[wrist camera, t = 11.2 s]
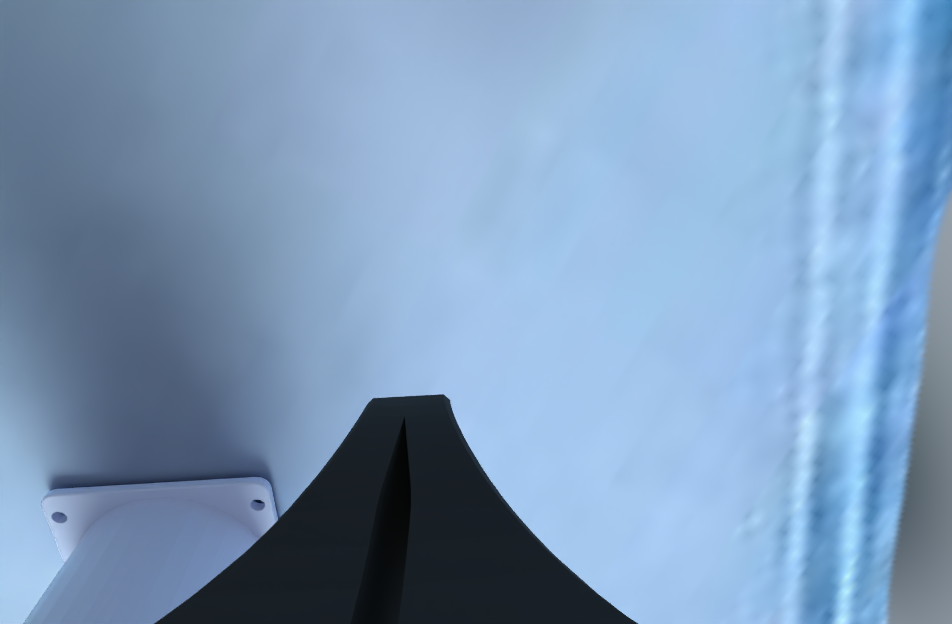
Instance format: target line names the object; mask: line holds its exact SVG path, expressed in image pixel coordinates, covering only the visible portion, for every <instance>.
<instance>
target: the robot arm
mask: <svg viewBox="0 0 952 624" xmlns="http://www.w3.org/2000/svg"><path fill="white" fill-rule="evenodd" d="M256 499H257V500H261V501H263V502H264V503H257V502H255V501H254V500H256ZM41 506H42V509H43V511H44V514H45V516H46V519H47V522H48V524H49V527H50V529H51V532H52V534H53V537H54V539H55V542H56V544H57V547H58V549H59V552H60V554H61V557H62V559H63V562H64V565H63V566H62V568H61V569H60V571H59V572H58V573H57V575H56V576H55V578H54V579H53V581H52V582H51V584H50V585H49V587H48V588H47V590H46V591H45V592H44V594H43V595H42V597H41V598H40V600H39V601H38V603H37V604H36V606H35V607H34V609H33V610H32V611H31V613H30V614H29V616H28V617H27V619H26V620H25V622H24V623H23V624H638V623H636V622H635V621H633V620H632V619H630V618H629V617H627V616H626V615H624V614H623V613H622V612H620V611H619V610H618V609H617V608H615V607H614V606H613V605H611V604H610V603H609V602H608V601H606V600H605V599H604V598H602V597H601V596H600V595H598V594H597V593H596V592H595V591H594V590H593V589H592V588H590V587H589V586H588V585H587V584H586V583H585V582H584V581H583V580H581V579H580V578H579V577H578V576H577V575H576V574H575V573H574V572H572V571H571V570H570V569H569V568H568V567H567V566H566V565H565V564H563V563H562V562H561V561H560V560H559V559H558V558H557V557H556V556H555V555H554V554H553V553H552V552H551V551H550V550H549V549H548V548H547V547H546V546H545V545H544V544H543V543H542V542H541V541H540V540H539V539H538V538H537V537H536V536H535V535H534V534H533V533H532V532H531V531H530V529H529V528H528V527H527V526H526V525H525V524H524V523H523V521H522V520H521V519H520V518H519V517H518V516H517V515H516V513H515V512H514V511H513V510H512V508H511V507H510V506H509V505H508V503H507V502H506V501H505V500H504V498H503V497H502V496H501V494H500V493H499V492H498V490H497V489H496V487H495V486H494V485H493V483H492V482H491V481H490V479H489V478H488V476H487V475H486V473H485V472H484V470H483V469H482V467H481V465H480V464H479V462H478V460H477V459H476V457H475V455H474V454H473V452H472V451H471V449H470V447H469V446H468V444H467V442H466V440H465V438H464V436H463V434H462V432H461V430H460V428H459V426H458V424H457V421H456V419H455V417H454V414H453V411H452V408H451V404H450V400H449V399H448V398H447V397H446V396H445V395H444V394H442V395H424V396H406V397H388V398H373V399H372V400H371V401H370V402H369V403H368V404H367V406H366V407H365V409H364V411H363V412H362V414H361V415H360V417H359V419H358V420H357V422H356V423H355V425H354V426H353V428H352V429H351V431H350V432H349V434H348V435H347V436H346V438H345V439H344V441H343V442H342V444H341V445H340V446H339V448H338V449H337V450H336V452H335V453H334V454H333V456H332V457H331V458H330V460H329V461H328V462H327V464H326V465H325V466H324V468H323V469H322V470H321V471H320V473H319V474H318V475H317V476H316V478H315V479H314V480H313V481H312V482H311V483H310V485H309V486H308V487H307V488H306V489H305V490H304V492H303V493H302V494H301V495H300V496H299V497H298V499H297V500H296V501H295V502H294V503H293V504H292V506H291V507H290V508H289V509H288V510H287V511H286V512H285V513H284V514H283V515H282V516H281V517H280V518H279V520H278V517H277V512H276V507H275V502H274V497H273V492H272V487H271V485H270V483H269V482H268V481H267V480H266V479H263V478H261V477H245V478H229V479H212V480H196V481H179V482H163V483H146V484H130V485H114V486H97V487H81V488H64V489H54V490H51V491H49V492H48V493H47V494H46V495H45V496H44V498H43V499H42V501H41ZM59 512H62V513H64V514H65V515H62V514H60V513H59Z"/></svg>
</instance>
